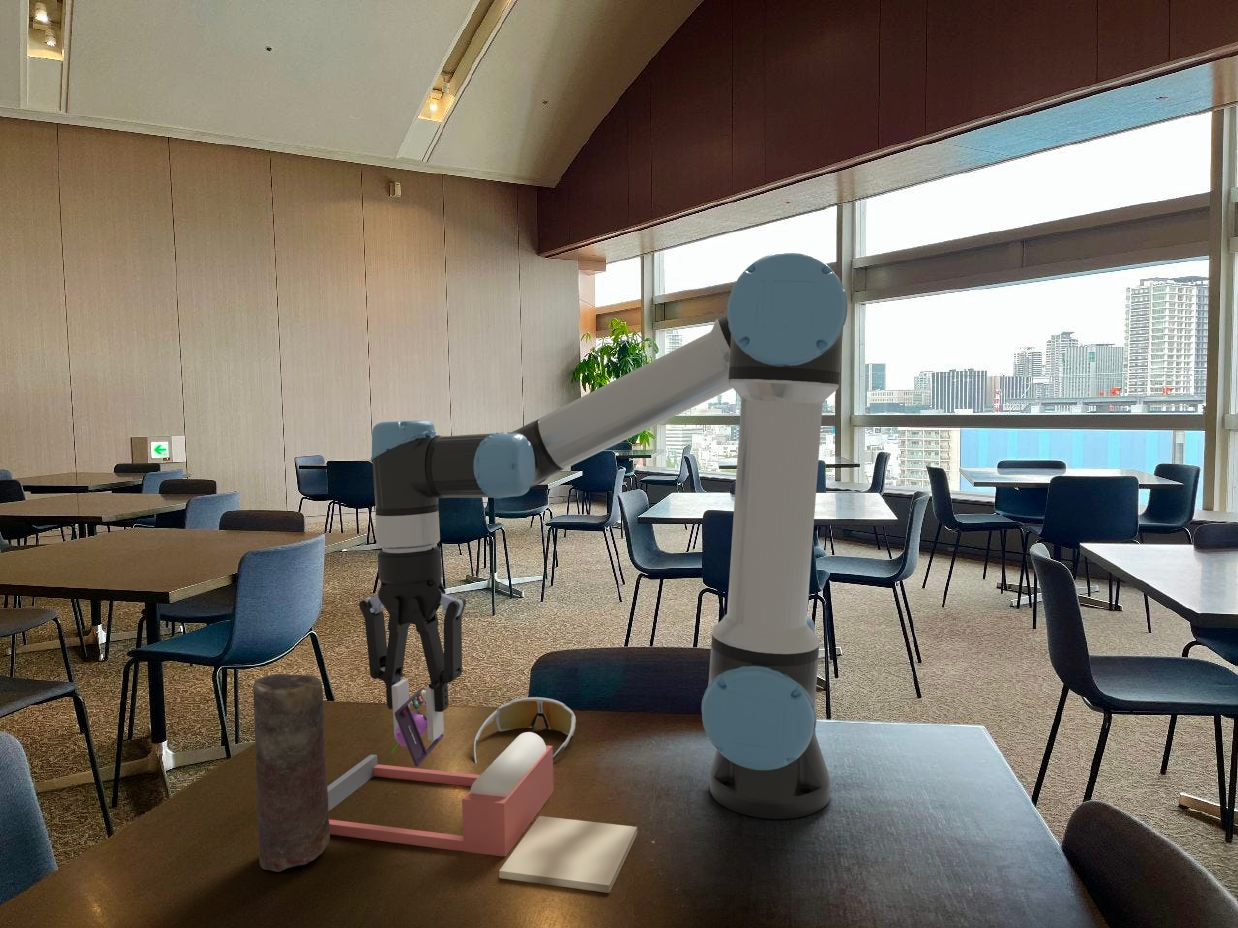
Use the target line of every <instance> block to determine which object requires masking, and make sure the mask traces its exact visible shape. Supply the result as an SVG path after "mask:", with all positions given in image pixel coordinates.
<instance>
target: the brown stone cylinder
mask: <svg viewBox="0 0 1238 928" xmlns="http://www.w3.org/2000/svg"><path fill="white" fill-rule="evenodd" d="M252 690H253V692H252V693H253V717H254V718H253V719H254V745H255V747H254V748H255V768H256V770H255V773H256V774H255V775H256V777H255V778H256V801H257V803H256V804H257V807H256V808H257V809H256V811H257V835H258V856H259V857H258V858H259V867H261V869H262V870H266V871H272V872H277V873H279V872H282V871H284V870H286V869H289V868H293V867H298V866H303V865H307V864H309V863H310V862H313V861H314V860H315V859H317V858H318V856H320V855H321V854H323V853H324V852H325V849H326V848H327V846H328V845H329V843H330V840H331V837H330V835H331V834H330V831H329V819H330V817H329V815H330V813H329V812H330V811H329V808H328V790H327V786H328V777H327V776H328V775H327V759H326V758H327V754H326V737H325V735H326V734H325V715H324V714H325V713H324V712H325V711H324V690H323V683H322V681H321V680H320V679H319V677H317V676H315V675H309V674H307V675H305V674H286V673H278V674H269V675H268V676H263V677H260V678H257V679H255V681H254V683H253V685H252Z"/></svg>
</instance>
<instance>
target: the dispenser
mask: <svg viewBox="0 0 1238 928" xmlns="http://www.w3.org/2000/svg"><path fill="white" fill-rule="evenodd" d="M553 748H554V746H553V745H546V743H545V741H544V739H543V738H542V737H541V736H540V735H538V734H537V733H535V732H532V731H527V732H526V731H525V732H522V733H520V734H519V735H517V736H516V738H515V739H514V740H513V741H512V742H511V743H510V744H509V745H508V746H507V747H506V748H505V749H504V750H503V752H501V754H499V755H498V756H497V757H496V758H495V760H493V762H492V763H490V765H489V766H488V767H487V768H486V769H485V770H484V771H483V772H482V773H481V774H478V773H477V774H476V773H466V772H456V771H455V772H454V771H445V770H439V769H438V770H436V769H427V768H419V767H418V768H417V767H407V766H406V767H405V766H397V765H396V766H395V765H390V764H389V765H387V764H378V754H369V755H368V756H366V757H365V758H364V759H362V760H361V761H359V762H358V763H357V764H356V765H354V766H353V767H352V768H350V769H349V770H347V771H346V772H345V773H344V774H342V775H341V776H339V777H338V778H337V779H335V780H334V781H333V782H331V783H330V784H328V785H327V790H328V808H329V812H330V811H332V810H333V809H334V808H336V807H337V806H338V805H340V803H342V802H343V801H344V800H345V799H346V798H348V797H350V795H352V794H353V793H354V792H355V791H357V790H358V789H360V788H361V787H362V786H364V785H365V784H366V783H368V781H370V780H371V779H372V778H373V777H379V778H381V777H382V778H390V779H397V780H406V781H407V780H409V781H417V782H427V783H428V782H429V783H436V784H446V785H454V786H455V785H456V786H465V787H470V791H468V792H467V793H466V794H465V795H464V796H463V798H462V799H461V802H462V803H461V805H462V806H461V807H462V810H461V811H462V832H463V833H462V835H459V834H452V833H451V834H450V833H442V832H434V831H428V830H427V831H425V830H417V829H409V828H404V827H403V828H402V827H394V826H387V825H386V826H385V825H378V824H370V823H369V824H368V823H363V822H362V823H361V822H354V821H353V822H352V821H345V820H337V819H330V818H329V831H330V835H334V836H335V835H336V836H341V837H342V836H343V837H349V838H350V837H351V838H357V839H365V840H374V841H381V842H389V843H395V844H396V843H397V844H403V845H410V846H411V845H412V846H419V847H427V848H435V849H443V850H449V851H458V852H465V853H473V854H482V855H488V856H489V855H490V856H496V857H497V856H498V857H503V856H505V857H504V858H506V857H507V855H509V853H510V852H511V850H512V849H513V848H514V846H515V844H516V843H518V841H519V839H521V836H522V835H523V834H524V833H525V831H526V829H527V828H528V827H529V826H530V824H531V823H532V821H533V820H534V819H535V818H536V816H537V815H538V813H539V812H540V810H541V809H542V808H543V806H544V805H545V804H546V803H547V801H548V799H550V797H551V796H552V794H553V793H554V787H555V786H554V785H555V784H554V761H553V755H554V749H553Z"/></svg>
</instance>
